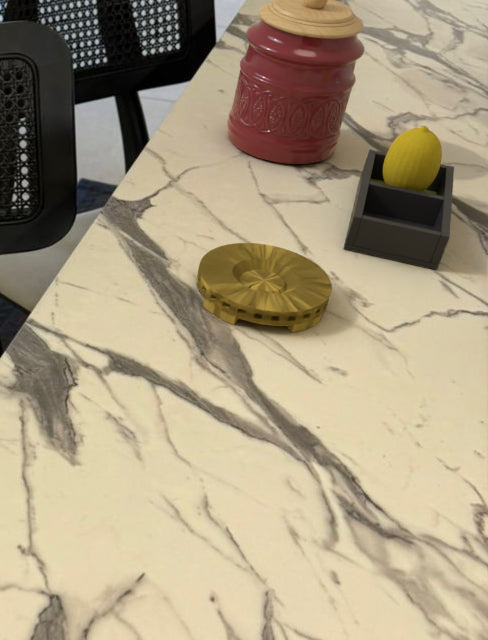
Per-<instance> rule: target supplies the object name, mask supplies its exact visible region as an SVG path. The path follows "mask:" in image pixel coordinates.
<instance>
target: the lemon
mask: <svg viewBox="0 0 488 640" xmlns="http://www.w3.org/2000/svg"><path fill="white" fill-rule="evenodd" d="M442 147H443V146H442V143H441V140H440V139H439V137H438V136H437V135H436V134H435V133H434V132H433V131H431V130H430V129H429V127H428V126H426V125H421V126H419V127H414V128H410V129H406V130H405V131H403V132H402V133H401V134H399V135H398V136H397V137H396V138H395V139H394V140H393V142H392V144H391V145H390V146H389V148H388V150H387V152H386V153H387V155H386V157H385V160H384V164H383V178H384V181H385V184H386V185H391V186H396V187H400V188H405V189H410V190H415V191H419V192H423V191H424V190H426V189H427V188H428V187H429V186H430V185H431V183H432V182H433V181H434V179H435V177H436V176H437V173H438V171H439V168H440V164H442V158H443V148H442Z"/></svg>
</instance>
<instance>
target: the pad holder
mask: <svg viewBox="0 0 488 640" xmlns="http://www.w3.org/2000/svg"><path fill="white" fill-rule="evenodd" d="M386 155H387V152H384V151H379V150H375V149H374V150H373V149H368V152H367V155H366V158H365V162H364V165H363V167H362V170H361V173H360V177H359V181H358V185H357V188H356V193H355V198H354V202H353V206H352V210H351V214H350V219H349V223H348V227H347V232H346V236H345V240H344V245H343V250H346V251H350V252H354V253H360V254H364V255H368V256H371V257H377V258H381V259H386V260H391V261H395V262H399V263H404V264H408V265H413V266H416V267H420V268H421V267H422V268H425V269H430V270H434V271H437V270H438V268H439V265H440V262H441V260H442V258H443V256H444V253H445V250H446V248H447V245H448V242H449V239H450V234H451V220H452V219H451V218H452V204H453V192H454V191H453V190H454V176H455V175H454V174H455V166H452V165H448V164H447V165H446V164H443V163H441V164H440V168H439V171H438V173H437V176H436V177H435V179H434V181H433V182H432V183H431V185H430V186H429V187H428V188H427V189H426V190H424V191H423V192H419V191H415V190H410V189H405V188H400V187H396V186H391V185H386V184H385V181H384V178H383V164H384V160H385V157H386Z"/></svg>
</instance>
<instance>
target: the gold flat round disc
mask: <svg viewBox="0 0 488 640" xmlns="http://www.w3.org/2000/svg"><path fill="white" fill-rule="evenodd" d="M195 280H196V281H195V282H196V283H195V284H196V287H197V290H198V291H199V293H200V295H201V296H202V297H203V298H204V299H203V304H202V306H203V307H204V308H205V309H206V310H207V311H208V312H209V313H211V314H212V315H214V316H215V317H217V318H218V319H220V320H222V321H224V322H226V323H229V324H231V325H233V326H234V325H235V324H236V323H237V322H238V321H239V320H242V321H245V322H249V323H253V324H258V325H266V326H274V327H275V326H276V327H286V328H287V329H288V330H289V331H290V333H298V332H301V331H306V330H308V329H310V328H312V327H314V326H316V325H317V324H318V323H319V322H321V319H322V317H323V314H324V312H325V311H326V309H327V307H328V305H329V303H330V299H331V295H332V292H333V284H332V280H331V279H330V277H329V275H328V274H327V272H326V271H325V270H324V269H323V268H322V267H321V266H320V265H319V264H317V263H315V262H314V261H313V260H311V259H309V258H308V257H306V256H304V255H302V254H299V253H297V252H295V251H292V250H289V249H287V248H283V247H280V246H275V245H270V244H264V243H256V242H255V243H254V242H238V243H237V242H236V243H229V244H224V245H220V246H217V247H215V248H213V249H211V250H209V251H208V252H206V253H205V254H204V255H203V256H202V257H201V259H200V262H199V264H198V269H197V273H196V279H195Z"/></svg>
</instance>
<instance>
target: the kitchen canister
mask: <svg viewBox="0 0 488 640" xmlns="http://www.w3.org/2000/svg"><path fill="white" fill-rule="evenodd" d="M258 16H259V18H260V19H259V21H256V22H254V23H253V24H251V25H250V26H249V27H248V28H247V29H246V32H245V36H246V39H247V41H248V46H247V50H246V53H245V55H243V57H241V59H240V62H239V73H238V78H237V83H236V87H235V91H234V96H233V101H232V106H231V109H230V110H229V112H228V119H227V122H226V124H227V125H226V126H227V133H226V134H227V138H228V140H229V141H230V143H232V144H233V146H234V147H236V148H237V149H239V150H240V151H242V152H244V153H246V154H248V155H250V156H252V157H256V158H258V159H262V160H265V161H268V162H273V163H278V164H288V165H290V164H292V165H307V164H314V163H318V162H321V161H324V160H326V159H328V158H329V157H331V156H332V154H333V153H334V150H335V147H336V146H338V145H337V144H338V143H339V140H340V139H339V138H340V136H341V133H342V132H341V127H342V124H343V122H344V118H345V113H346V111H347V107H348V104H349V99H350V97H351V93H352V89H353V87H354V86H355V84H356V82H357V81H356V79H357V77H356V75H355V68H356V63H357V61H358V60H359V59H360V58H361V57H363V56H364V54H365V50H366V48H365V45H364V43H363V42H362V41H361V39H360V38H358V34H360V33H361V32H362V31H363V29H364V22H363V21H362V20H361V18H359V17H358V16H357V15H356V14H355V13H354V11H353V9H352V8H351V7H350V6H349V5H347V4H345V3H343V2H342V1H341V2H340V1H338V0H272V1H269V2H267V3H265V4H263V5H261V6H260V8H259V10H258Z"/></svg>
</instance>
